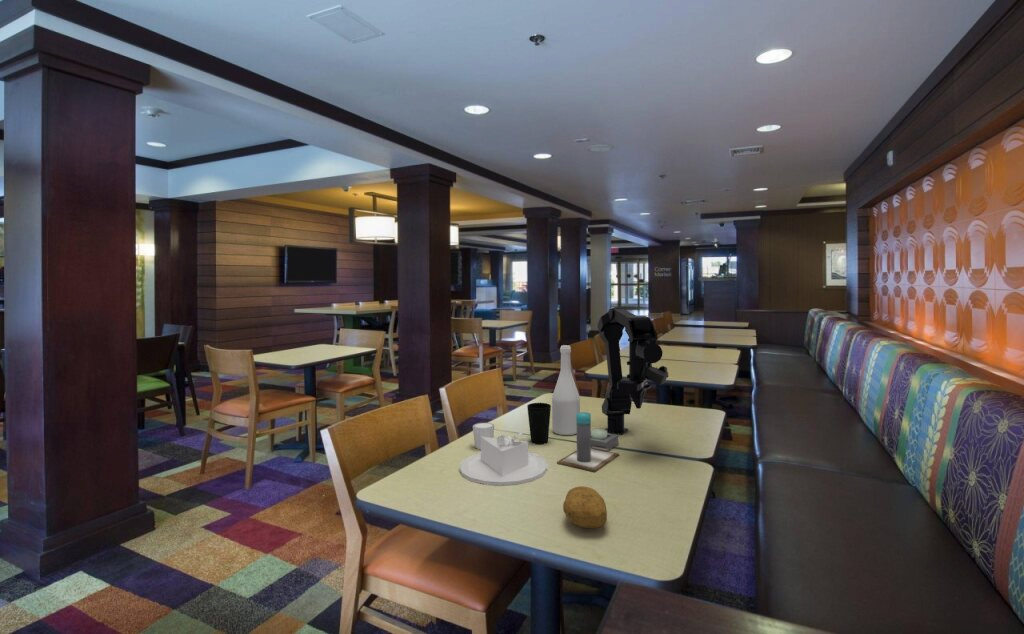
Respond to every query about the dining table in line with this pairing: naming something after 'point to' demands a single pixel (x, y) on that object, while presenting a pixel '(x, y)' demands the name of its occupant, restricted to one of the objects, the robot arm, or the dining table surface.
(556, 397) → the wine bottle
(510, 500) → the dining table surface
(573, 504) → the potato
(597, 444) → the button housing
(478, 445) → the shot glass
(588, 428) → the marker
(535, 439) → the cup
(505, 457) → the dish
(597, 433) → the button
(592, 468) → the clipboard
